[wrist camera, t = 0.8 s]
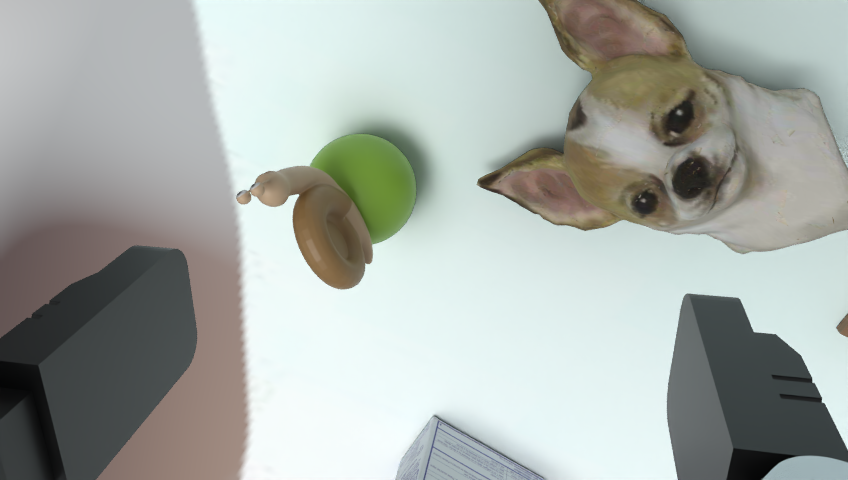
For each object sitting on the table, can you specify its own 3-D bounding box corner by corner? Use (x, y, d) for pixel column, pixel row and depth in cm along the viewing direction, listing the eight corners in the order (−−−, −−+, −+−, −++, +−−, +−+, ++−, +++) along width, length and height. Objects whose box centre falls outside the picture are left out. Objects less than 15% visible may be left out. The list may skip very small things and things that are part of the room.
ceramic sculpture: (811, 357, 29) (449, 239, 31) (770, 269, 37) (483, 178, 39) (955, 98, 25) (524, -23, 27) (874, 60, 33) (545, -32, 35)
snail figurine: (379, 85, 37) (301, 155, 26) (444, 193, 39) (396, 302, 28) (293, 135, 39) (188, 220, 28) (358, 237, 41) (283, 354, 30)
